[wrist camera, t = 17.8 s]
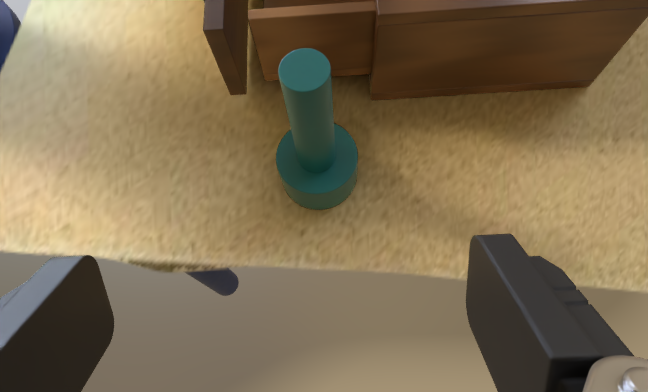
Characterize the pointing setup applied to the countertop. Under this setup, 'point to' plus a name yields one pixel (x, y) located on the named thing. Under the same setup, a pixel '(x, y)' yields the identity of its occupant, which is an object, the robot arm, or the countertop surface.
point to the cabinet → (495, 44)
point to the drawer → (289, 35)
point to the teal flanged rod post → (313, 135)
